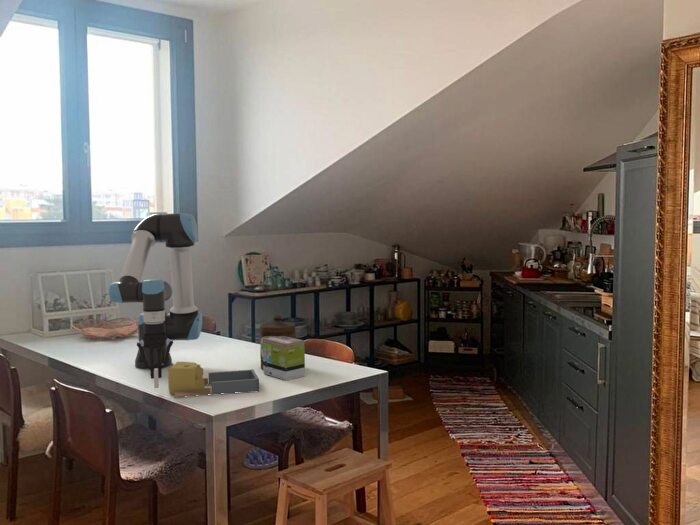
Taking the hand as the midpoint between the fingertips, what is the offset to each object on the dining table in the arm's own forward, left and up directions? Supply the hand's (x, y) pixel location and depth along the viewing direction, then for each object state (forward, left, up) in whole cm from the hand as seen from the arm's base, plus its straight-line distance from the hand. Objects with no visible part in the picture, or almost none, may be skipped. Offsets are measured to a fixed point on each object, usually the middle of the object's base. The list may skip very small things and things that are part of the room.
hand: (156, 387), depth 255 cm
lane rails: (0, +13, -2) cm, 13 cm away
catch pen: (0, +28, -2) cm, 28 cm away
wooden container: (-27, +49, -3) cm, 56 cm away
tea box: (-13, +49, -3) cm, 50 cm away
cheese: (0, +11, -3) cm, 11 cm away
